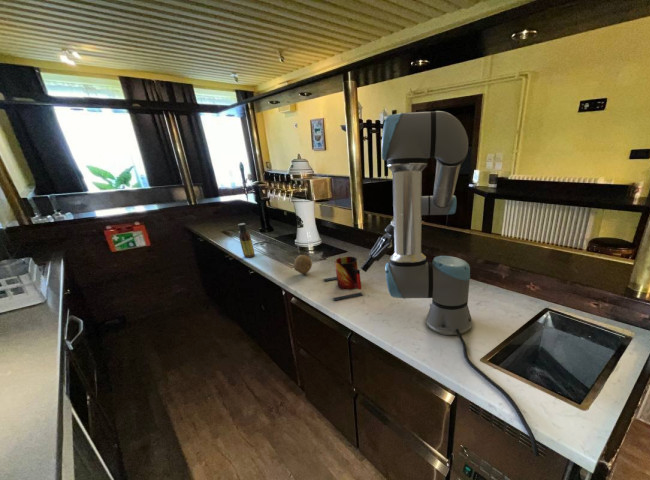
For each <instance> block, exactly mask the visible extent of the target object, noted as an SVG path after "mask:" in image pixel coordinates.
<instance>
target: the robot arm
mask: <svg viewBox="0 0 650 480" xmlns="http://www.w3.org/2000/svg"><path fill="white" fill-rule="evenodd" d="M382 129H383V130H382V135H381V137H382V138H381V159H382V160H383V161H385V162H386V167H387V168H388V169H389V170H390V171H391V172H392V173H391V174H392V207H393V218H392V220H391V221H390V224H388V225H387V226H386V227H385V229H384V232H385V233H384V234H383V235H382V236H378V238H377V240H376V242H375V243H374V245H373V246H372V248H371V250H370V251H369V253H368V255H369V256H368V258H367V259H366V260H365V262H364V263H363V264H362V265H361V266H360V269H361V270H362V271H363V272H365V273H366V272H367V271H368V270H369V269H370V268H371V267H372V266H373V264H374V263H375V262H379V261H380V260H381V259H382V258H383V257H384V256H385V255H386V254H387V253H388V252H389V251H391V250H392V249H393V248H394V249H393V250H394V251H393V254H391V256H389V262H386V263H385V265H384V267H385V269H384V271H385V280H386V286H387V290H388V293H389V295H390V297H392V298H395V299H404V300H405V299H431V303H429V310H428V313H427V314H426V319H425V323H426V327H427V328H428V329H430V330H431V331H432V332H434V333H436V334H438V335H443V336H458V338H459V340H460V342H461V345H462V350H463V351H462V352H463V356H464V358H465V361H466V362H467V364H468V366H470V367H471V369H473V370H474V371H475V372H476V373H477V374H479V375H480V376H481V377H482V378H483V379H485V380H486V382H488V383H489V384H490V385H491V386H493V387H494V388H495V389H496V390H497V391H499V392H500V393H501V394H502V395H503V397H505V398H506V400H507V401H508V402H509V403H510V405H511V406H512V407H513V409H514V410H515V412H516V414H517V415H518V416H517V417H518V418H519V419H520V421H521V423H522V425H523V427H524V429H525V430H526V433H527V434H528V437H529V439H530V442H531V445H532V446H531V447H532V451H533V454H534V456H536V457H540V450H539V447H538V443H537V439H536V437H535V435H534V433H533V431H532V429H531V427H530V426H529V424H528V422H527V420H526V418H525V417H524V415H523V412H522V411H521V409H520V407H519V406H518V405H517V403H516V402H515V400H514V399H513V398H512V397H511V396H510V394H509V393H508V392H507V391H506V390H505V389H504V388H502V387H501V386H500V385H499V384H498V383H496V381H494V380H492V379H491V378H490V377H489V376H488V375H487V374H485V372H484V371H482V370H481V369H480V368H478V367H477V366H476V365H475V364H474V363H473V362H472V361H471V360H470V358H469V355H468V351H467V350H468V348H467V345H466V342H465V340H464V338H463V336H462V335H463V334H466V333H467V332H469V331H470V330H471V328H472V323H473V320H472V316H471V312H470V309H469V303H468V302H469V292H470V281H471V266H470V263H468V262H467V261H466V260H464V259H462V258H459V257H456V256H451V255H439V256H437V255H436V256H434V258H433V260H432V261H431V262H428V261H427V256H426V255H425V254H424V253H423V252H422V232H423V231H422V225H423V224H422V221H423V220H422V219H423V218H422V216H447V215H455V214H456V212H457V196H456V195H454V194H455V190H456V186H457V181H458V179H459V173H460V170H461V167H462V166H461V165H462V163H464V162H465V160H466V159H467V156H468V151H469V137H468V134H467V131H466V129H465V127H464V125H463V124H462V122H461V121H460V120H459V119H458V118H457V117H456V116H454V115H453V114H451V113H449V112H447V111H444V110H435V111H413V112H410V111H409V112H401V113H394V114H393V113H392V114H389V115H387V116H386V118H385V120H384V123H383V128H382ZM428 159H435V160H436V166H435V176H434V184H433V185H434V186H433V194H432V195H422V194H423V184H422V183H423V180H422V179H423V171H424V170H425V169H426V168H427V166H428Z"/></svg>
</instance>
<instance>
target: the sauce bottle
mask: <svg viewBox="0 0 650 480" xmlns="http://www.w3.org/2000/svg"><path fill="white" fill-rule="evenodd" d="M237 227H238V229H239V237H238V240H239V242H240V247H241V250H242V254H243V256H244V258H253V257H255V255H256V254H255V249H254V245H253V241H252V237H251V234H250V233H249V232H248V230H247V226H246V223H245V222H242V223H238V224H237Z"/></svg>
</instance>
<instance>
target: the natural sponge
mask: <svg viewBox="0 0 650 480" xmlns="http://www.w3.org/2000/svg"><path fill="white" fill-rule="evenodd" d="M312 266H313V262H312V260H311V258H310V257H309V256H308V255H306V254H300V255H298V256H297V257H296V258H295V259H294V262H293V269H294V271H296V272H298V273H300V274H301V275H305V274H307V273H309V271H310V270H311V269H312Z"/></svg>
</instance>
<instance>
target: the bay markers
mask: <svg viewBox="0 0 650 480" xmlns="http://www.w3.org/2000/svg"><path fill="white" fill-rule="evenodd" d="M323 280H324V282H330V281H331V282H332V281H337V276H333V277H328V278H324V279H323ZM362 296H363V293H362V292H356V293H351V294H345V295H342V296H337V297H333V301H334V302H338V301H342V300H347V299H352V298H358V297H362Z"/></svg>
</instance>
